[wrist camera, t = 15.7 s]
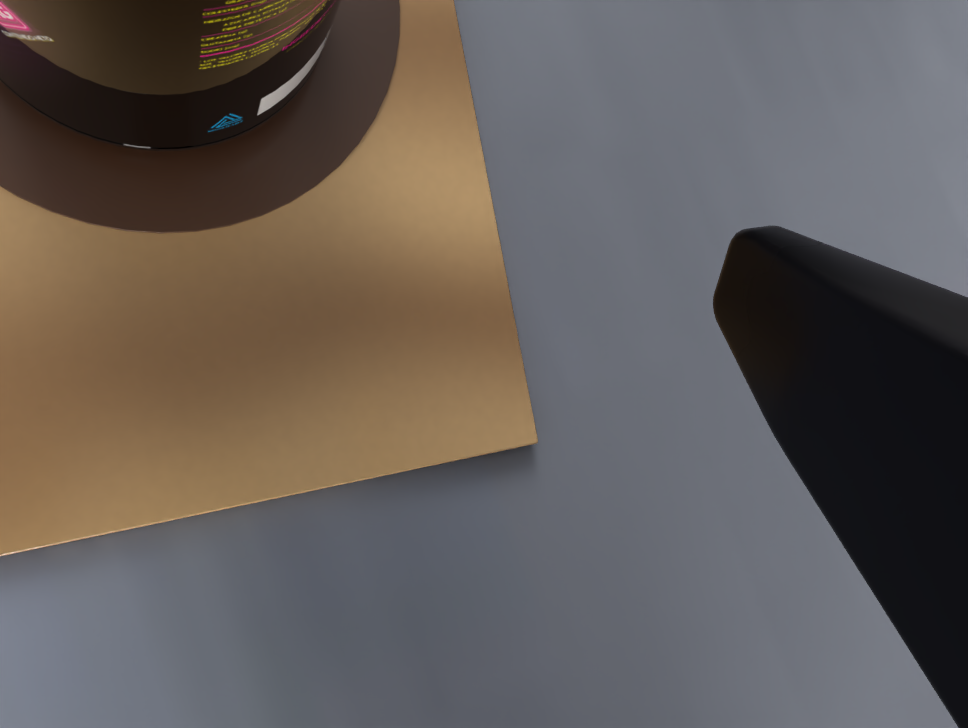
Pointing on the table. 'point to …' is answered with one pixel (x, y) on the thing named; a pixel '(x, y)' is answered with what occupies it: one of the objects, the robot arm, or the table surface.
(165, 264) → the placemat
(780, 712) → the table surface
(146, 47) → the supplement container
